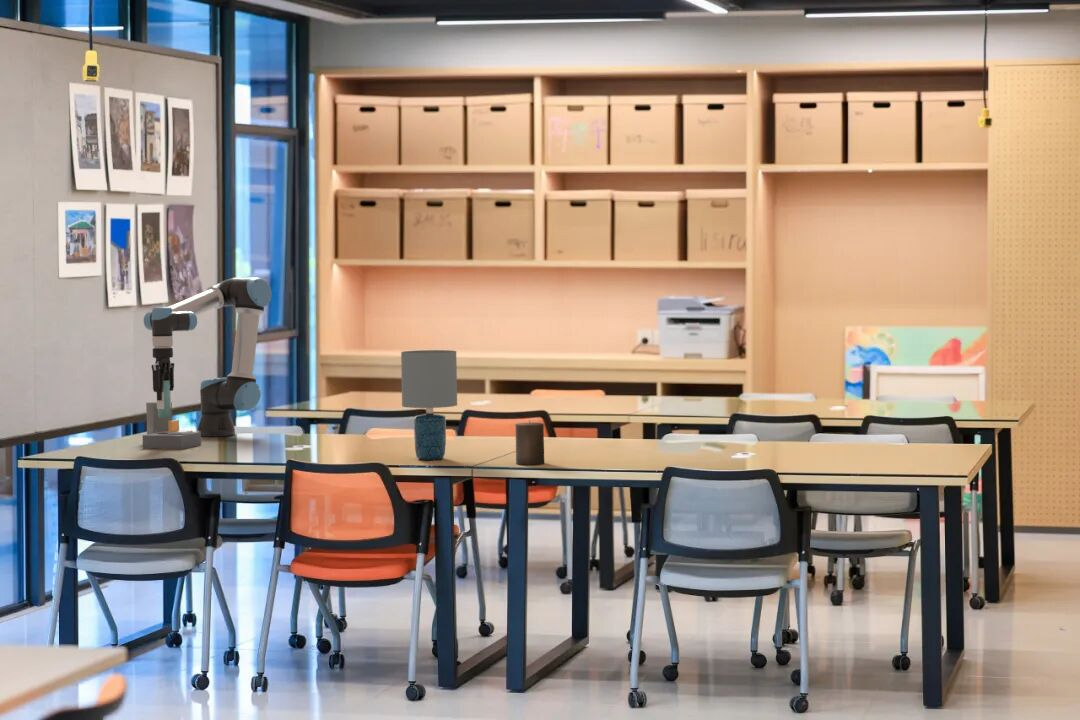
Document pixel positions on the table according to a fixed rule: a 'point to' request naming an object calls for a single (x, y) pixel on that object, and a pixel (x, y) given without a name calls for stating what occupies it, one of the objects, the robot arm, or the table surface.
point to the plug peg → (165, 401)
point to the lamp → (429, 396)
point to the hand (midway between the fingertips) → (164, 408)
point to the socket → (171, 440)
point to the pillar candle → (529, 443)
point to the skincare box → (156, 419)
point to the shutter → (176, 428)
